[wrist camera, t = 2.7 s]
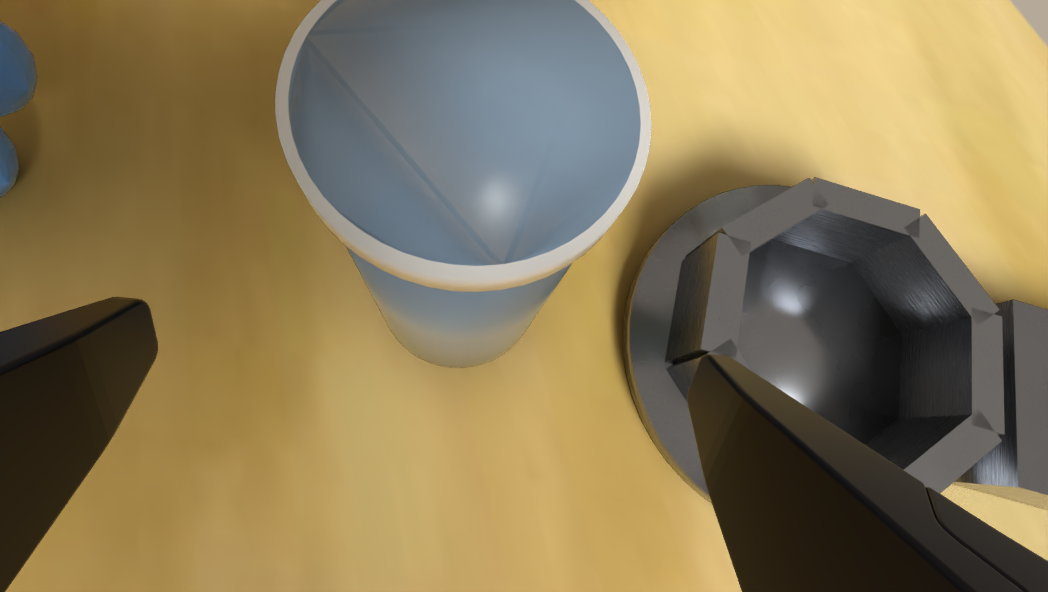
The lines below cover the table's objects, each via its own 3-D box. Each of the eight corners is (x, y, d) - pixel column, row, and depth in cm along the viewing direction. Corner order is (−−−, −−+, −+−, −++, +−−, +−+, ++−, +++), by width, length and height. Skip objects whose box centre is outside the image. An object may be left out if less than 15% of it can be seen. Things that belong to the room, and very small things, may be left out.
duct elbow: (535, 380, 20) (650, 298, 9) (362, 364, 19) (236, 252, 8) (550, 143, 23) (653, -157, 11) (400, 122, 22) (348, -221, 11)
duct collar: (590, 483, 19) (624, 494, 15) (655, 157, 23) (695, 102, 19) (1171, 635, 21) (1335, 680, 17) (1138, 304, 25) (1264, 279, 21)
